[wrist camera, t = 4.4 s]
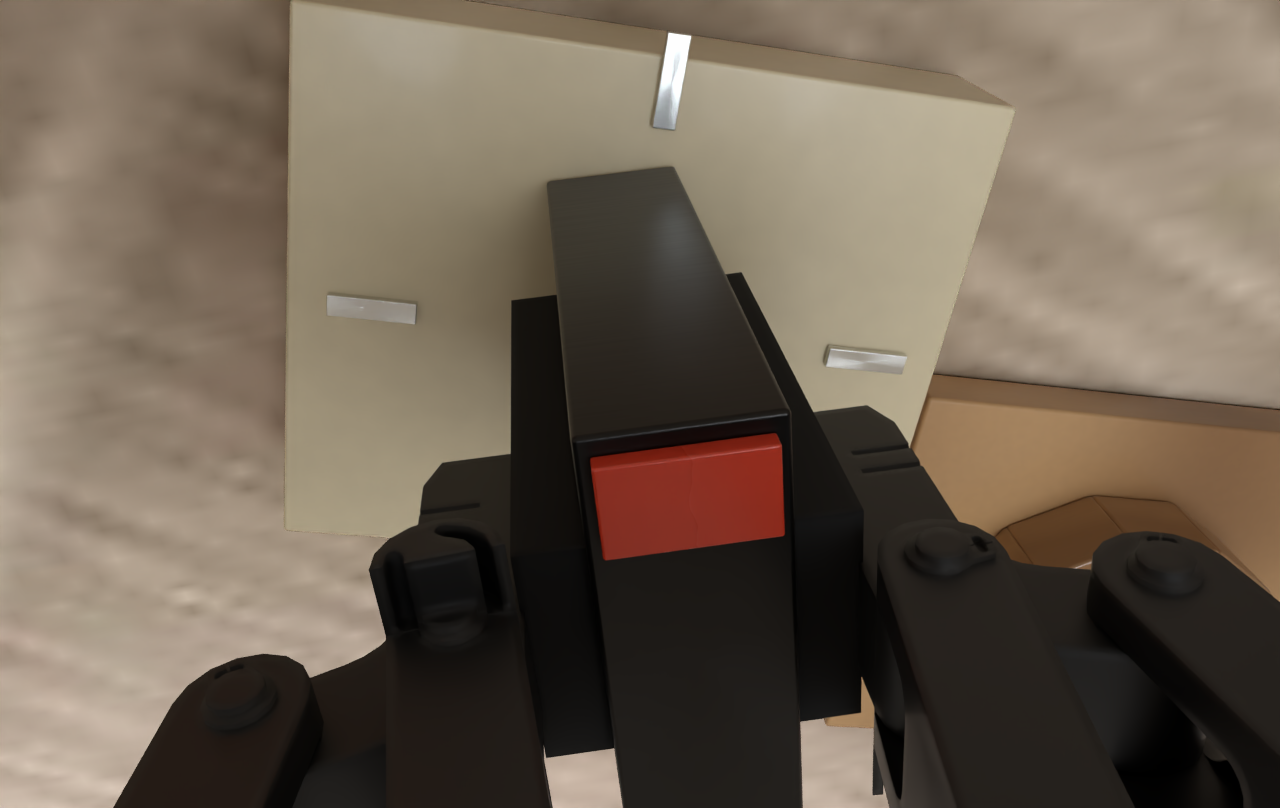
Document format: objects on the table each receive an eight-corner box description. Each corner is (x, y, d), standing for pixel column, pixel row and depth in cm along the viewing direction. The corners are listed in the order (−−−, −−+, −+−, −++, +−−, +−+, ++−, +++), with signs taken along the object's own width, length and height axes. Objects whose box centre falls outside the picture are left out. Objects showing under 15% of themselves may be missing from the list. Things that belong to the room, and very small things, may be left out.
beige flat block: (306, 474, 21) (280, 553, 19) (318, -46, 17) (287, -27, 15) (833, 516, 23) (869, 593, 21) (965, 55, 19) (1030, 86, 17)
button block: (810, 696, 26) (844, 796, 23) (909, 370, 22) (964, 445, 19) (1188, 716, 27) (1260, 810, 25) (1343, 415, 23) (1448, 489, 21)
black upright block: (698, 466, 19) (809, 849, 12) (587, 481, 19) (632, 876, 12) (674, 165, 17) (798, 422, 9) (546, 180, 17) (570, 453, 9)
